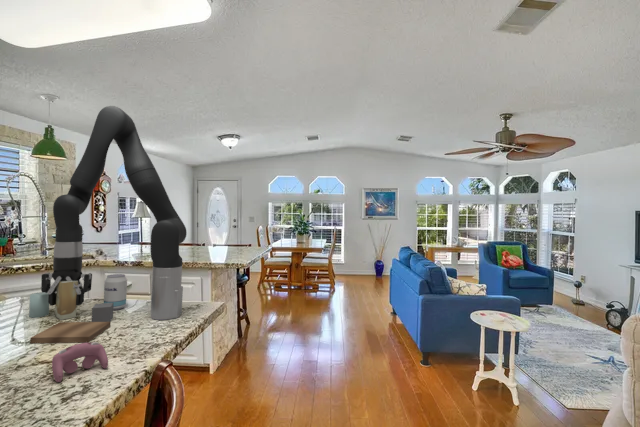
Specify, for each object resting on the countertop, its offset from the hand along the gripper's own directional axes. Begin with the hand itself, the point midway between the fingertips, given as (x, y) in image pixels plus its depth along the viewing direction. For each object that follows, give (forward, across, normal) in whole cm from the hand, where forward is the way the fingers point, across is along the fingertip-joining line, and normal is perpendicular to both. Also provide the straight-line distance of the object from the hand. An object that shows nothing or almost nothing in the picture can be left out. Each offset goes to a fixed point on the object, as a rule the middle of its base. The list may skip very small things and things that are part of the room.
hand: (66, 304), depth 105 cm
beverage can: (+4, -11, -9) cm, 15 cm away
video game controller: (+4, -25, +39) cm, 46 cm away
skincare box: (+4, 0, 0) cm, 4 cm away
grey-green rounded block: (+4, +9, -2) cm, 10 cm away
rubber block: (+4, -13, +4) cm, 14 cm away
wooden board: (+4, -11, +16) cm, 20 cm away
